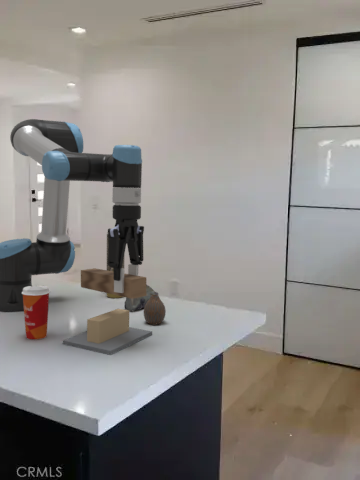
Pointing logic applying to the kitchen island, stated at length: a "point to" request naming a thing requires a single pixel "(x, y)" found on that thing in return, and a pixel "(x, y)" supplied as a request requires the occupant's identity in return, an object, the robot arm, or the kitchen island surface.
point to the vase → (154, 310)
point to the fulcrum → (108, 333)
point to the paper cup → (36, 311)
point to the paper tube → (111, 270)
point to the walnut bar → (105, 283)
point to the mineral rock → (139, 300)
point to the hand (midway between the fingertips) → (126, 290)
